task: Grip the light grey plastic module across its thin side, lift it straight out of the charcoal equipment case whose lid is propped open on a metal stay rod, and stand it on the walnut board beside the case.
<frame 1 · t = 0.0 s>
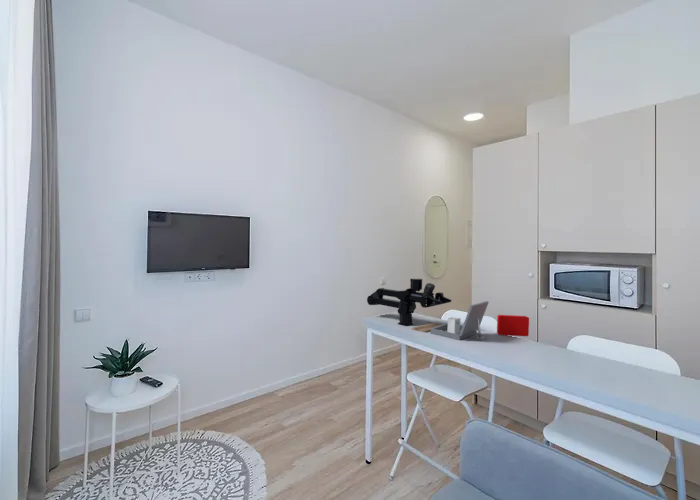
hand: (446, 301, 179), 17 cm above the table, tool horizontal, fingers open, 9 cm apart
equipment case: (453, 333, 180), on the table
walnut board: (428, 327, 191), on the table
module: (453, 333, 180), resting in equipment case
case lid: (474, 318, 172), point 10 cm above the table, hinge at 108.0°
red flat block: (512, 335, 180), on the table
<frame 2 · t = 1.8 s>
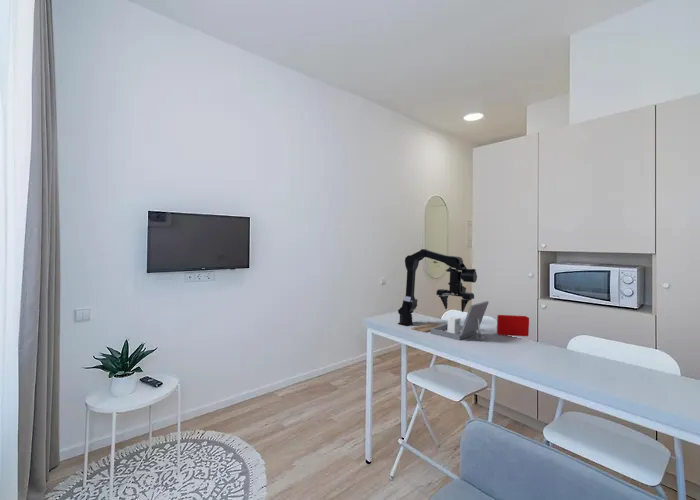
hand: (454, 310, 180), 12 cm above the table, tool pointing down, fingers open, 9 cm apart
nothing on the table moved.
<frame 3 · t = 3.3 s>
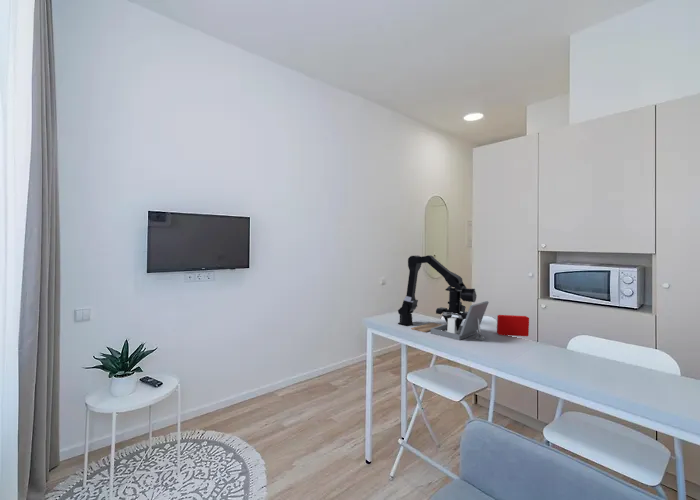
hand: (453, 329, 180), 2 cm above the table, tool pointing down, fingers closed on module, 4 cm apart
module: (453, 333, 180), resting in equipment case, touching gripper
everything else where it was.
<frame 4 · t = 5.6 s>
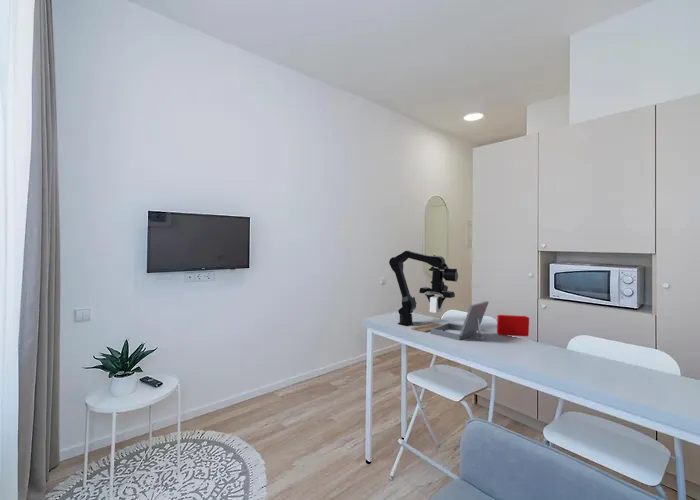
hand: (435, 308, 187), 12 cm above the table, tool pointing down, fingers closed on module, 4 cm apart
module: (435, 311, 187), point 10 cm above the table, touching gripper
everything else where it was.
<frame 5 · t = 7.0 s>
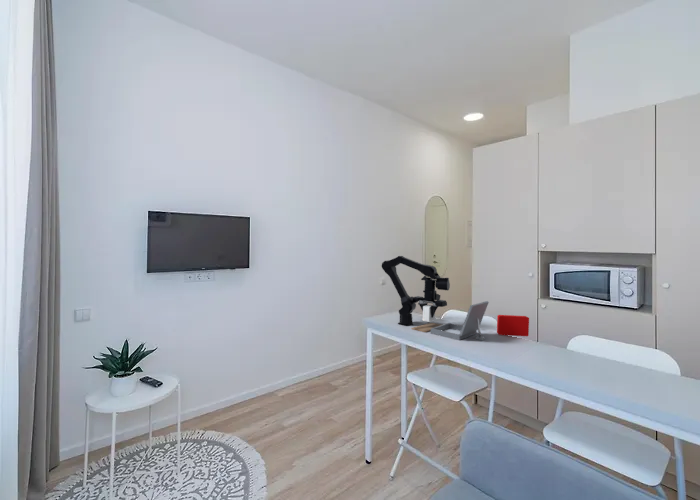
hand: (428, 316, 190), 6 cm above the table, tool pointing down, fingers closed on module, 4 cm apart
module: (428, 320, 190), point 4 cm above the table, touching gripper
everything else where it was.
when the fingers open (4 cm above the table, at t = 8.1 s): module drops 1 cm, resting on walnut board.
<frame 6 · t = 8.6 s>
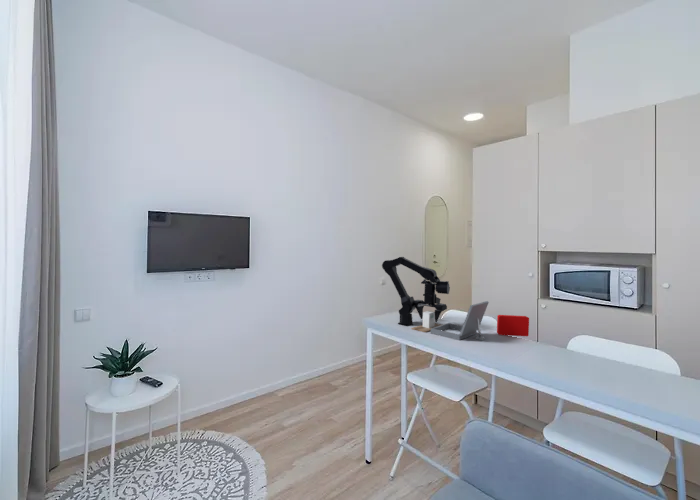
hand: (428, 320, 190), 4 cm above the table, tool pointing down, fingers open, 9 cm apart
module: (428, 326, 191), point 1 cm above the table, touching walnut board
everything else where it was.
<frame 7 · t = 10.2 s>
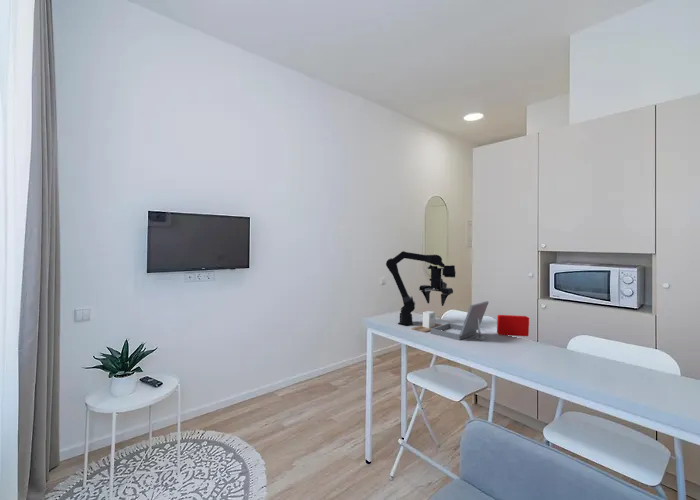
hand: (435, 304, 194), 12 cm above the table, tool pointing down, fingers open, 9 cm apart
nothing on the table moved.
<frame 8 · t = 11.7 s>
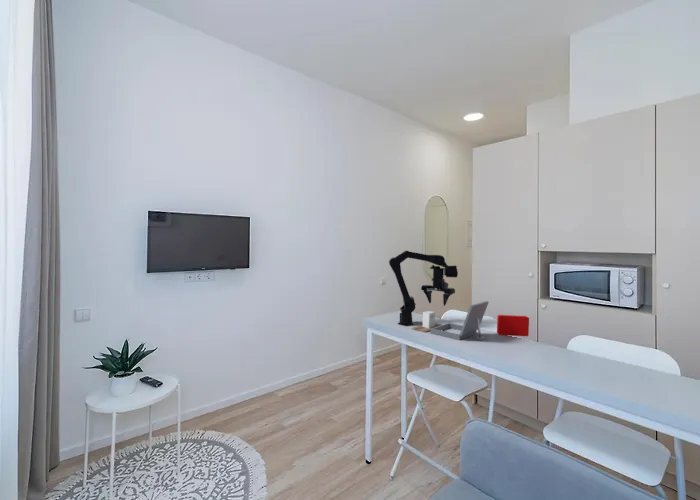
hand: (437, 304, 196), 12 cm above the table, tool pointing down, fingers open, 9 cm apart
nothing on the table moved.
at the end: module inside the target area (0.0 cm from its centre), point 0.6 cm above the table; module tilted 0°; the gripper is holding nothing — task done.
